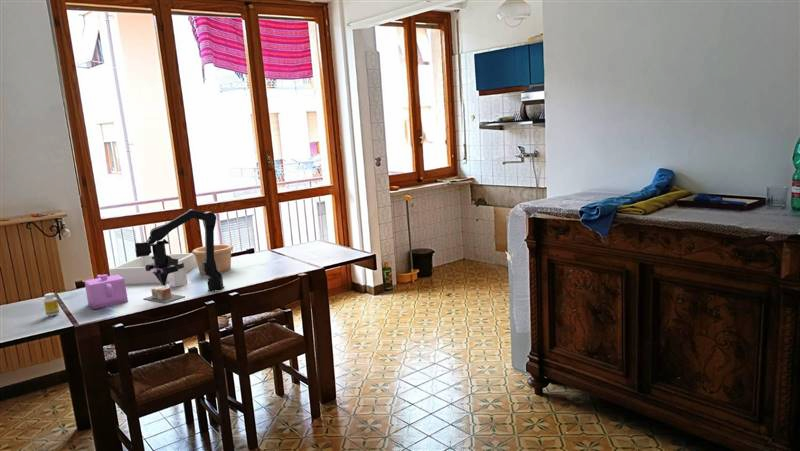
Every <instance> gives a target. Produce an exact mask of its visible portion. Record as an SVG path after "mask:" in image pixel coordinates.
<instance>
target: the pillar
mask: <svg viewBox="0 0 800 451" xmlns="http://www.w3.org/2000/svg"><path fill="white" fill-rule="evenodd" d="M150 289H151V296H152V297H153V298H159V299H166V298H169V297H171V294H172V290H171V287H169V286H168V287H166V286H163V285H161V286H160V285H159V286H156V287H153V288H150Z"/></svg>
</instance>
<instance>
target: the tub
mask: <svg viewBox="0 0 800 451" xmlns="http://www.w3.org/2000/svg"><path fill="white" fill-rule="evenodd" d="M166 255H168V256H171V258H173V259H179V260H178V262H184V267H185V270H186V274H187V273H188V272H190V271H191V270H193V269H195V268H196V267H198V264H197V261H196V257H195V255H194V254H193V253H192V252H187V253H185V252H184V253H170V254H169V253H166ZM152 257H153V254H152V255H151V254H149V256H143V257H135V258H133V259H131V260H128V261H126V262H123V263H121V264H119V265H117V266H115V267H112V268H110V269H109V274H110V275H109V276H113V275H119V276H121V277H123V278H124V279H125V285H133V284H136V285H137V284H154V283H160V281H159V280H158V278H157V277H156V276H155V275H154V273H153V272H154V269H151V270H150V271H146V269H145V267H146V265H148V264H152V263H154V259H152ZM166 283H169V278H168V276H167V280H166Z"/></svg>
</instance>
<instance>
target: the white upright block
mask: <svg viewBox="0 0 800 451" xmlns="http://www.w3.org/2000/svg"><path fill="white" fill-rule="evenodd" d="M175 266H176V265H175ZM177 267H178V271H177V272H173V273H169V274H168V278H169V282H168V283H169V285H168V286H169V287H171V286H172V287H173V288H177V287H176V286H178V287H181V286H182V285H183V286H185V285H186V284H188V279H187V273H186V270H185V267H184V262H178V266H177Z"/></svg>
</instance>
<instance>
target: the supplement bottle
mask: <svg viewBox="0 0 800 451" xmlns="http://www.w3.org/2000/svg"><path fill="white" fill-rule="evenodd" d="M55 296H56V295H55V292H48V293H45V294H44V299H43V305H44V306H43V307H44V311H45V315H46V316H47V315H48V316H49V315H51V316H54V315H55V316H56V315H58V314H60V308H59V304H58V298H57V297H55Z"/></svg>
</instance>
